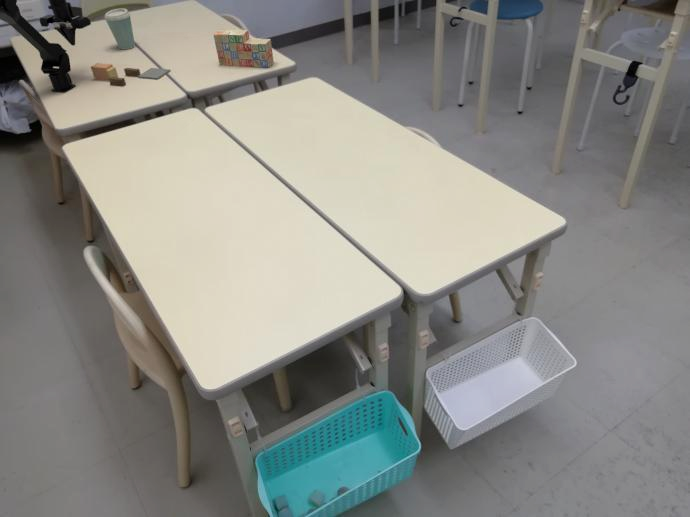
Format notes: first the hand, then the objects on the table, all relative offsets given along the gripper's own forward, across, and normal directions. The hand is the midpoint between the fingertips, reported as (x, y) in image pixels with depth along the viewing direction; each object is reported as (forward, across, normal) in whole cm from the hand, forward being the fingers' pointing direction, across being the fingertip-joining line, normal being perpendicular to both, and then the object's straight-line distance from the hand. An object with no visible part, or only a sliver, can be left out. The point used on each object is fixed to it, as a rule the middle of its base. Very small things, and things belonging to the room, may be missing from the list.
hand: (73, 45), depth 203 cm
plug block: (+12, -10, 0) cm, 16 cm away
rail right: (+12, -20, -5) cm, 23 cm away
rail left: (+12, -20, +5) cm, 23 cm away
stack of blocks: (+12, -59, -25) cm, 65 cm away
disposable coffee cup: (+12, +4, -34) cm, 36 cm away
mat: (+12, -28, -8) cm, 31 cm away
